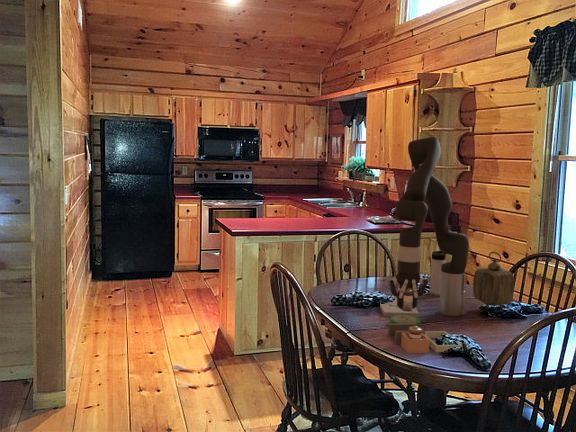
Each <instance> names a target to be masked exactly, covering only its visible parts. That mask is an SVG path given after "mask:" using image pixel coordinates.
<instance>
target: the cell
mask: <svg viewBox="0 0 576 432" xmlns="http://www.w3.org/2000/svg"><path fill="white" fill-rule="evenodd" d="M413 295H414V292H413V290H411V289H410V288H407V289H405V292H404V293H403V296H402V298H403V305H402V309H401V310H402V311H407V312H410V311H412V310H413Z"/></svg>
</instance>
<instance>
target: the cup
mask: <svg viewBox="0 0 576 432" xmlns="http://www.w3.org/2000/svg"><path fill="white" fill-rule="evenodd" d="M400 347H402V348H403V349H404V351H405V352H407V354H422V353H424V354H427V353H430V346H429V338H427V337H426V336H425V335H424V334H423V333H422V336H421V339H409V332H407V333H401V345H400Z"/></svg>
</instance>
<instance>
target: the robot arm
mask: <svg viewBox="0 0 576 432" xmlns="http://www.w3.org/2000/svg"><path fill="white" fill-rule="evenodd" d="M439 141H440V140H438V138H437V137H435V136H431V137H425V138H418V139H414V140H411V141H410V142H409V143H408V146H407V150H408V157H409V159H410V162H411V164H412V167H413V169H414V172H412V174H411V175H410V177H409V179H408V181H407V184H406V188H405V190H404V193H403V195H402V196H401V197H400V199H399V200H398V202H397V204H396V206H395V209H394V213H395V217H396V218H397V219H398V220H399V221H403V222H415V224H414V226H411V227H404V228H401V229H400V230H399V242H398V245H399V246H398V251H397V265H396V266H397V267H396V268H397V269H396V272H397V273H396V275H395V277H394V278H388V279H387V282H388V285H389V288H390V292H391V294H392V295H393V296H394V297H395V298H397V306H398V307H399V308H400V309H402V305H403V298H402V296H403V293H404V292H405V289H407V288H410V289H411V290H413V292H414V295H413V308H417V305H418V298H419V297H422V296H423V295H424V294H425V293H424V292H425V291H426V288H427V285H428V282H429V281H428V279H427V278H425V277H423V278H422V277H421V275H420V273H421V271H420V270H421V258H422V255H421V254H422V251H421V238H422V231H423V227H424V224H425V221H426V219H427V216H428V214H430V218H431V220H432V225H433V228H434V233H435V238H436V239H435V240H436V243H437V246H438V249H439V250H440V251H441V252H443V253H445V254H446V255H450V256H451V260H450V261H447V262H445V263H443V264H442V266H441V283H440V296H439V303H438V305H439V306H438V312H439V313H440V314H442V315H444V316H450V317H458V316H462V315H465V313H466V312H465V311H466V309H465V308H466V294H467V293H466V291H465V276H466V275H465V272H466V268H467V264H468V258H469V257H468V256H469V247H470V242H469V241H470V240H469V237H468V235H466V234H464V233H462V232H461V233H460V232H455V231H452V230H451V228H450V225H449V222H448V219H449V216H450V213H451V210H452V207H453V204H452V199H451V194H450V192H449V189H448V187H447V186H446V185H445V184H444V183H443V182H442V181H441V180H440V179H439V178H437V177H436V176H435V175H434V174H433V173H434V171H436V170H435V169H436V167H437V164H438V163H439V162H440V161H439V160H440V158H441V154H442V153H441V151H442V149H441V144H440V142H439ZM428 212H429V213H428ZM418 283H419V286H418V287H417V285H418ZM396 284H398V288H396V286H395V285H396Z"/></svg>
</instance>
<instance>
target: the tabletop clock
mask: <svg viewBox="0 0 576 432" xmlns="http://www.w3.org/2000/svg"><path fill="white" fill-rule="evenodd" d="M492 254H495V255H497V256H498V257H499V260H497V259H496V258H493V259H492V258H491V255H492ZM488 258H489V260H490V261H491V263H489V264H488V265H487V267H480V268H477V269H476V270H475V272H474V275H473V276H474V277H473V285H472V286H473V287H472V288H473V297H474V298H475V300H478V301H480V302H482V303H483V304H485V305H487V307H485V309H487V308H488V309H489V307H490V306H492V307H495V306H499V307H501V309H502V308H504V306H505V305H511V304H512V302H513V300H514V299H513V298H514V292H515V279H514V278H515V277H514V274H513V273H512V272H511V271H509V270H508V269H507V270H506V269H505V268H502V267H501V265H500V262H501V261H502V256H501V254H500V253H498V252H497V251H490V253H489V254H488ZM485 309H484V310H485ZM504 309H505V308H504Z"/></svg>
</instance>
